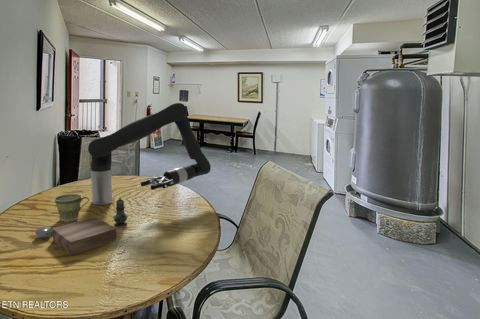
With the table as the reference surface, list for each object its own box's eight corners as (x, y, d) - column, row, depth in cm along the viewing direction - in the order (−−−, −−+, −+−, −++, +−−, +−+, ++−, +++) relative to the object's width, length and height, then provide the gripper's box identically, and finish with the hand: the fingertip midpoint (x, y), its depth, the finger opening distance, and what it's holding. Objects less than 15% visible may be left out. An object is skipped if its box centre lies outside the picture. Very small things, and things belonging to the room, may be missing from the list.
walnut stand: (53, 241, 111) (52, 228, 110) (96, 228, 123) (95, 216, 122) (71, 256, 101) (70, 242, 100) (116, 240, 113) (116, 228, 113)
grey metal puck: (34, 237, 114) (33, 229, 113) (48, 233, 118) (48, 226, 117) (38, 241, 111) (38, 233, 110) (53, 237, 114) (53, 229, 114)
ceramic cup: (55, 225, 125) (53, 202, 123) (57, 216, 134) (55, 195, 132) (90, 220, 131) (89, 198, 129) (89, 212, 140) (88, 192, 138)
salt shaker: (115, 221, 131) (114, 195, 129) (129, 221, 132) (129, 195, 129) (111, 227, 125) (110, 199, 123) (125, 227, 126) (125, 199, 124)
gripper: (166, 167, 151) (136, 175, 139) (183, 171, 141) (153, 180, 130) (168, 181, 153) (139, 191, 141) (185, 186, 143) (155, 196, 132)
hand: (146, 186), depth 136 cm, fingers open, 8 cm apart
